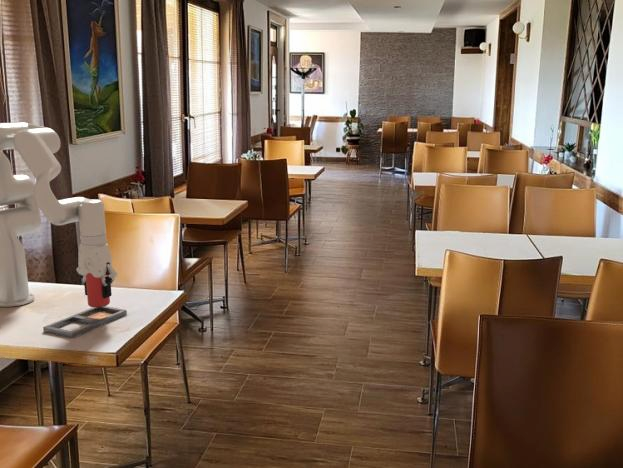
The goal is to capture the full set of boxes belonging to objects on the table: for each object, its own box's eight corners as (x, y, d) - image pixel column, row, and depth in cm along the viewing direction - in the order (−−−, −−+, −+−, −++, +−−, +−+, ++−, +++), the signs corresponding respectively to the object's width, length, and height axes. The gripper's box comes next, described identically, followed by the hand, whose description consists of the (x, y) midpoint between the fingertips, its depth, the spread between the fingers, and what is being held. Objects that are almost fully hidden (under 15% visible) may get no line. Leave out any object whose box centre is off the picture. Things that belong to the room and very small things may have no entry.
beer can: (103, 308, 195) (100, 271, 192) (83, 307, 196) (80, 270, 194) (114, 302, 201) (111, 265, 199) (95, 301, 202) (92, 264, 200)
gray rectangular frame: (43, 332, 187) (43, 327, 187) (99, 309, 207) (99, 305, 207) (72, 338, 182) (72, 333, 182) (126, 314, 202) (126, 310, 202)
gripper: (63, 239, 195) (68, 295, 198) (106, 244, 187) (111, 302, 191) (82, 235, 201) (86, 289, 205) (124, 239, 194) (128, 295, 197)
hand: (98, 295), depth 198 cm, fingers closed on beer can, 6 cm apart
